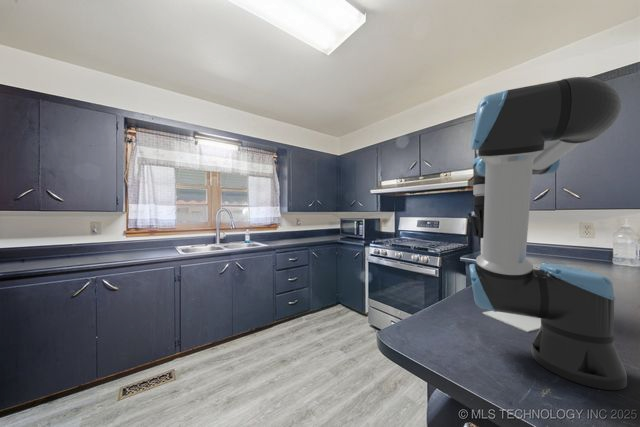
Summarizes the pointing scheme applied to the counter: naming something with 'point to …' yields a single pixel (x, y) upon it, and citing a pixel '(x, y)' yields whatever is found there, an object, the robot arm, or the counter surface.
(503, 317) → the mat
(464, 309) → the counter surface
